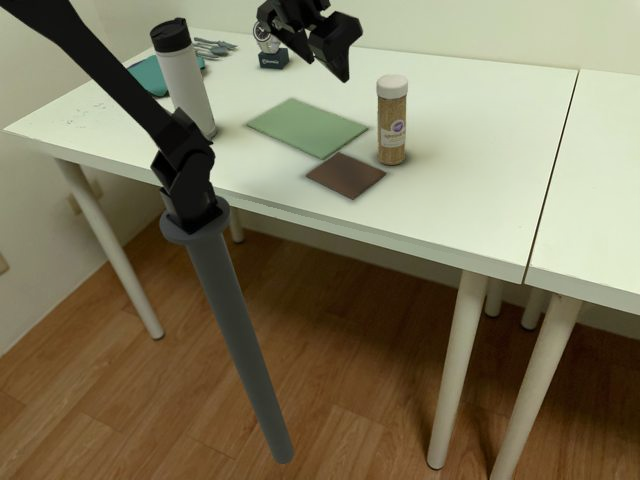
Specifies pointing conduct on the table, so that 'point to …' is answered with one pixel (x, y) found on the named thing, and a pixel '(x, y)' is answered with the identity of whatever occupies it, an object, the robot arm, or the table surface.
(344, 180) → the walnut mat
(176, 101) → the travel mug
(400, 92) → the sprinkles bottle
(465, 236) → the table surface
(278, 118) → the green mat
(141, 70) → the cutlery set
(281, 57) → the watch
